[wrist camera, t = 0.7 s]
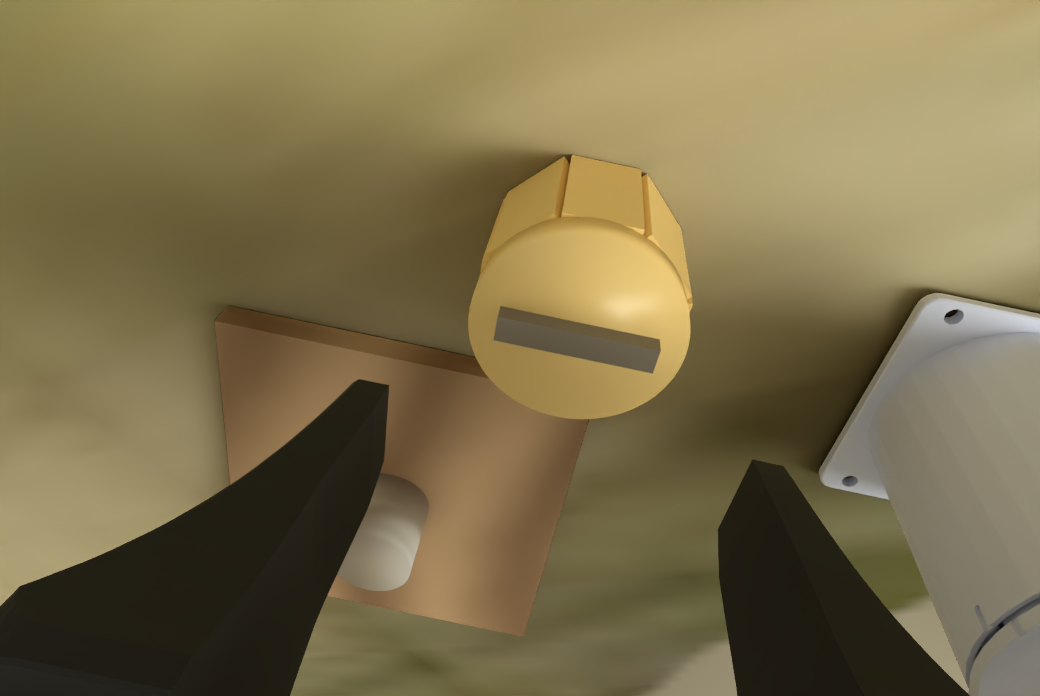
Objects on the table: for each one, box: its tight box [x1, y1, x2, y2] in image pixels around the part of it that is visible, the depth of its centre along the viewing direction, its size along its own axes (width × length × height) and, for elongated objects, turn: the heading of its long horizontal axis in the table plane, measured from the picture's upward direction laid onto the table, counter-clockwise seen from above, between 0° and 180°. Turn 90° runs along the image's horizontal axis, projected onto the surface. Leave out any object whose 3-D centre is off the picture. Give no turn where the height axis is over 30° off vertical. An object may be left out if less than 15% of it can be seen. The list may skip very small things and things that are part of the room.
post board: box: [214, 306, 589, 637], centre depth 27 cm, size 13×14×4 cm
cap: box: [468, 155, 693, 419], centre depth 19 cm, size 6×6×5 cm
